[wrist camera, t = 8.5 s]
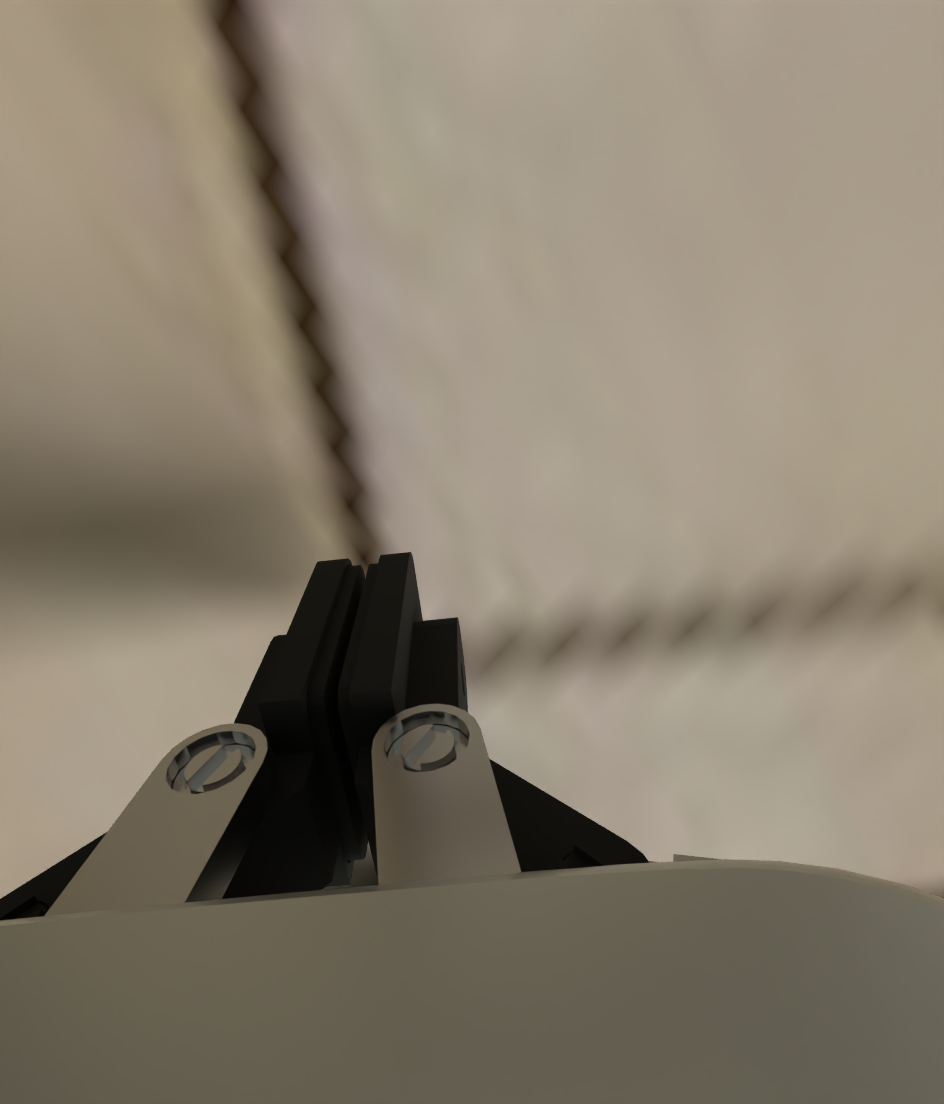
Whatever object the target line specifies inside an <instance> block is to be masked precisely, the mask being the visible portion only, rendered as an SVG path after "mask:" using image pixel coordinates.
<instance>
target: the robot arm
mask: <svg viewBox="0 0 944 1104" xmlns="http://www.w3.org/2000/svg"><path fill="white" fill-rule="evenodd" d="M368 841H369V845H370V849H371V853H372V857H373V862H374V866H375V870H376V874H377V877H378V884H379V885H371V886H360V887H348V888H337V889H326V890H322V889H323V888H325V887H328V886H338V885H349V884H350V882H351V876H352V869H353V863H354V860H359V859H364V858H365V856H366V851H367V844H368ZM0 1104H944V898H941V897H939V896H936V895H934V894H931V893H928V892H925V891H922V890H919V889H915V888H912V887H909V886H906V885H903V884H900V883H896V882H892V881H888V880H883V879H879V878H875V877H871V876H867V875H863V874H858V873H854V872H850V871H846V870H842V869H836V868H829V867H821V866H813V865H806V864H798V863H790V862H782V861H759V860H730V859H713V858H704V857H695V856H686V855H677V854H674V856H673V862H652V861H648V860H647V859H646V857H645V856H644V855H643V853H641V852H640V851H639V850H638V849H636V848H635V847H634V846H633V845H631V844H630V843H629V842H627V841H626V840H624V839H622V838H621V837H619V836H617V835H616V834H614V833H612V832H611V831H609V830H607V829H606V828H604V827H602V826H601V825H599V824H597V823H596V822H594V821H592V820H591V819H589V818H587V817H586V816H584V815H582V814H581V813H579V812H577V811H576V810H574V809H572V808H571V807H569V806H567V805H566V804H564V803H562V802H561V801H559V800H557V799H556V798H554V797H552V796H551V795H549V794H547V793H546V792H544V791H542V790H541V789H539V788H537V787H536V786H534V785H532V784H531V783H529V782H527V781H526V780H524V779H522V778H521V777H519V776H517V775H516V774H514V773H512V772H511V771H509V770H507V769H505V768H504V767H502V766H500V765H499V764H497V763H495V762H494V761H492V760H490V759H489V757H488V753H487V750H486V746H485V743H484V739H483V736H482V732H481V729H480V727H479V725H478V723H477V722H476V720H475V718H474V717H472V716H471V715H470V714H469V713H468V705H467V688H466V676H465V666H464V657H463V649H462V641H461V633H460V626H459V620H458V617H457V618H447V619H437V620H427V621H423V619H422V613H421V606H420V600H419V593H418V587H417V580H416V574H415V568H414V562H413V557H412V554H411V552H407V553H397V554H388V555H380V558H379V562H378V563H377V564H369V567H368V571H367V575H366V579H365V575H364V571H363V568H362V566H361V565H357V566H352V563H351V561H350V560H349V559H339V560H329V561H319V562H317V564H316V566H315V568H314V571H313V573H312V575H311V578H310V580H309V582H308V585H307V587H306V589H305V592H304V594H303V597H302V599H301V601H300V604H299V606H298V608H297V611H296V613H295V615H294V618H293V620H292V623H291V625H290V627H289V630H288V632H287V634H286V635H278V636H275V637H274V638H273V639H272V641H271V642H270V645H269V647H268V649H267V651H266V653H265V656H264V658H263V660H262V662H261V664H260V667H259V669H258V671H257V673H256V675H255V678H254V680H253V682H252V684H251V686H250V689H249V691H248V693H247V695H246V697H245V700H244V702H243V704H242V706H241V708H240V711H239V713H238V715H237V717H236V719H235V722H234V724H224V725H218V726H215V727H212V728H208V729H205V730H202V731H200V732H198V733H196V734H194V735H192V736H190V737H188V738H186V739H185V740H183V741H182V742H181V743H179V744H178V745H176V746H175V747H174V748H172V749H171V751H170V752H169V753H168V754H167V755H166V756H165V757H164V758H163V759H162V760H161V761H160V763H159V764H158V765H157V767H156V768H155V769H154V771H153V772H152V773H151V775H150V776H149V777H148V779H147V780H146V781H145V783H144V784H143V785H142V787H141V788H140V789H139V791H138V792H137V793H136V795H135V796H134V797H133V799H132V800H131V801H130V803H129V804H128V805H127V807H126V808H125V809H124V811H123V812H122V813H121V815H120V816H119V817H118V819H117V820H116V821H115V823H114V824H113V825H112V827H111V828H110V829H109V831H108V832H106V833H105V834H103V835H102V836H100V837H98V838H97V839H95V840H94V841H92V842H90V843H89V844H87V845H86V846H84V847H82V848H81V849H79V850H78V851H76V852H74V853H73V854H71V855H70V856H68V857H66V858H65V859H63V860H62V861H60V862H58V863H57V864H55V865H54V866H52V867H51V868H49V869H47V870H46V871H44V872H43V873H41V874H39V875H38V876H36V877H35V878H33V879H31V880H30V881H28V882H27V883H25V884H23V885H22V886H20V887H19V888H17V889H15V890H14V891H12V892H11V893H9V894H7V895H6V896H4V897H3V898H1V899H0Z"/></svg>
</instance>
